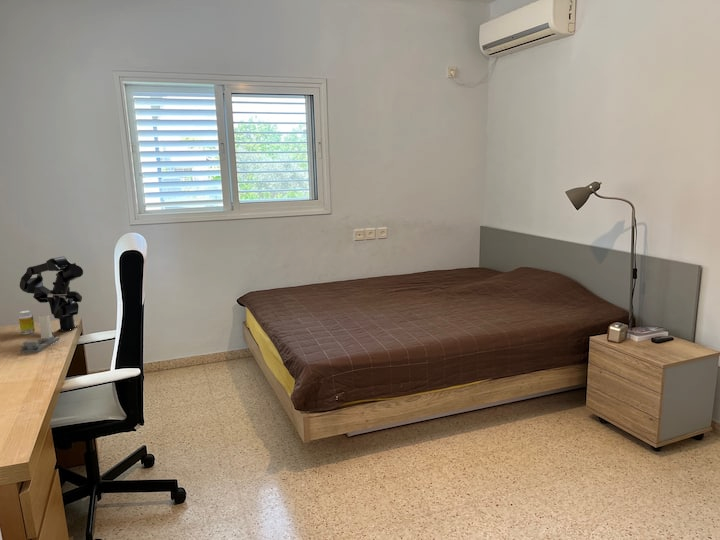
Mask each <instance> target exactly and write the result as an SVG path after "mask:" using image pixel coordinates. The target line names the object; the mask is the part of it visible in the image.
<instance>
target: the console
mask: <svg viewBox="0 0 720 540" xmlns="http://www.w3.org/2000/svg"><path fill="white" fill-rule="evenodd" d="M59 339H60V337H58V336H57V337H55V336H54V338H52V339H51V340H49V341H40V339H39V340H27V341H24V342H23V345H22V346H21V350H20V351H19V353H20V354H38V352H39V353H41V352H42V351H44V350H45V349H47V348H49V347H51V346H52V345H53V343H54V344H55V343H57V342H58V340H59ZM56 341H57V342H56ZM59 341H60V340H59ZM51 344H52V345H51ZM48 346H49V347H48ZM43 349H44V350H43Z"/></svg>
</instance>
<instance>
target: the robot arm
mask: <svg viewBox="0 0 720 540" xmlns="http://www.w3.org/2000/svg"><path fill="white" fill-rule="evenodd" d="M45 261H46V262H44V263H41V264H36V265H34V266H29V267H27V269H26V271H25V273H24V274H23V275H22V276H21V278H20V282H19V288H20V289H21V291H22V292H25V293H26V294H32V295H33V296H32V297H33V298H34V299H35V300H36V301H37V302H38V303H40V304H42V303H43V304H45V303H48V304H49V309H50V313H51V315H53V318H54V319H57V320H59V321H58V322H59V325H60V326H59V328H58V329H57V331H58V330H70V329H71V331H73V330H75V329H76V328H75V326H76V327H77V326H78V325H75V319H74V317H75V315H78V314H79V308H80V307H79V303H81V302H82V300H83V297H82V295H81V294H80V293H79V292H78V291H77V290H75V291H73V290H71V287H70V282H71V281H74V280H77V279H78V278H81V277H83V274H84V270H83V268H82V266H80V265H77V264H76V262H73V263H72V262H71V261H70V260H69V259H68V258H66V256H59V257H52V258H49V259H47V260H45ZM45 272H57V273H56V274H55V276H56V277H55V280H54V281H53V282H52V285H53V287H52V289H49V288H48V287H46V286H44V284H43V281H44V278H43V276H42V273H45ZM33 275H36V277H33ZM74 328H75V329H74ZM77 328H78V327H77ZM72 329H73V330H72Z"/></svg>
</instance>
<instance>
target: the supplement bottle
mask: <svg viewBox="0 0 720 540" xmlns="http://www.w3.org/2000/svg"><path fill="white" fill-rule="evenodd" d="M17 319H18V324H19V330H20V333H21V334H22V335H31V334H34V333H35V332H36V328H35V327H36V326H35V322H34V321H35V320H34V315H33V314H32V313H31V310H27V309H26V310H21V311H19V316H18V318H17ZM33 332H34V333H33ZM30 333H31V334H30Z"/></svg>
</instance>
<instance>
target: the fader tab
mask: <svg viewBox="0 0 720 540" xmlns="http://www.w3.org/2000/svg"><path fill="white" fill-rule="evenodd" d="M38 324H39V326H38V327H39V331H40V337H41V338H40V339H39V340H40V341H49V340H51V339H52V338H54V337H55V336H54V335H53V333H52V332H53V331H52V326H51V318H50V314H49V315H48V314H46V315H45V314H44V315H39V316H38Z"/></svg>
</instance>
